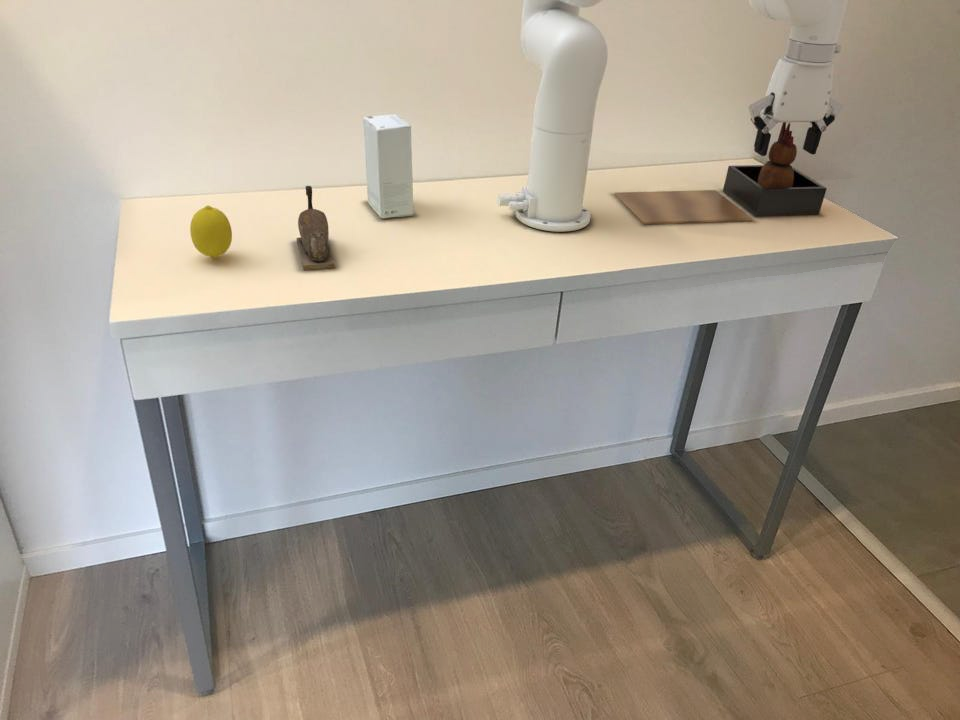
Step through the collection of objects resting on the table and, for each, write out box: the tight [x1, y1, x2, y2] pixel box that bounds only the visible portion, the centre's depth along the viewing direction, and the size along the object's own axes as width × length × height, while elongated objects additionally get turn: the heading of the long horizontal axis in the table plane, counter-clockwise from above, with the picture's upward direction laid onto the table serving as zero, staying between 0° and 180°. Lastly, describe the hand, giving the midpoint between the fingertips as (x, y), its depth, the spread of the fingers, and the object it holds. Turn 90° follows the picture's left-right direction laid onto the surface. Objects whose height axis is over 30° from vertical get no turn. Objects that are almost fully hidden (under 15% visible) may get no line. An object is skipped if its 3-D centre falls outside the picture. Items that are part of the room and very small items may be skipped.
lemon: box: [189, 205, 233, 260], centre depth 112 cm, size 6×6×8 cm
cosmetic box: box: [362, 113, 414, 219], centre depth 130 cm, size 8×6×15 cm
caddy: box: [722, 164, 827, 218], centre depth 145 cm, size 13×13×5 cm
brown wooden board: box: [615, 189, 753, 225], centre depth 142 cm, size 20×14×1 cm
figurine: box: [296, 185, 336, 271], centre depth 116 cm, size 14×4×9 cm, turn 17°
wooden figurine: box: [758, 122, 798, 188], centre depth 143 cm, size 7×6×15 cm
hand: (784, 152), depth 142 cm, fingers open, 9 cm apart
